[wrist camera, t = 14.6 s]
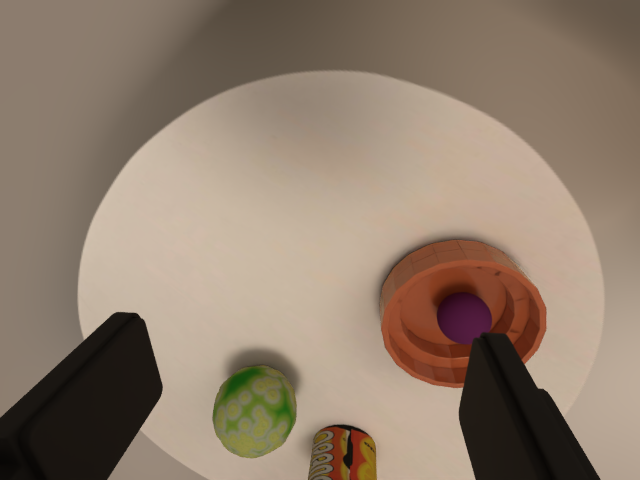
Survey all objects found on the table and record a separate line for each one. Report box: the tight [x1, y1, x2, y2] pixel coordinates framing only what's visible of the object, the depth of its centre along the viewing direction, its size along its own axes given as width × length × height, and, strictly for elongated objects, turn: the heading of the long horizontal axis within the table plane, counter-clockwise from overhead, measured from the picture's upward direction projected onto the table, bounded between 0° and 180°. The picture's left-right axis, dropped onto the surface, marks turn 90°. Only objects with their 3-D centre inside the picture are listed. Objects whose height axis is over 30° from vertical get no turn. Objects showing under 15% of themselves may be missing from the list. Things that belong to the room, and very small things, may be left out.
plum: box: [437, 292, 492, 345], centre depth 36 cm, size 5×5×5 cm
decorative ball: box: [213, 365, 297, 458], centre depth 42 cm, size 10×10×10 cm
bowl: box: [380, 240, 546, 388], centre depth 36 cm, size 15×15×5 cm
